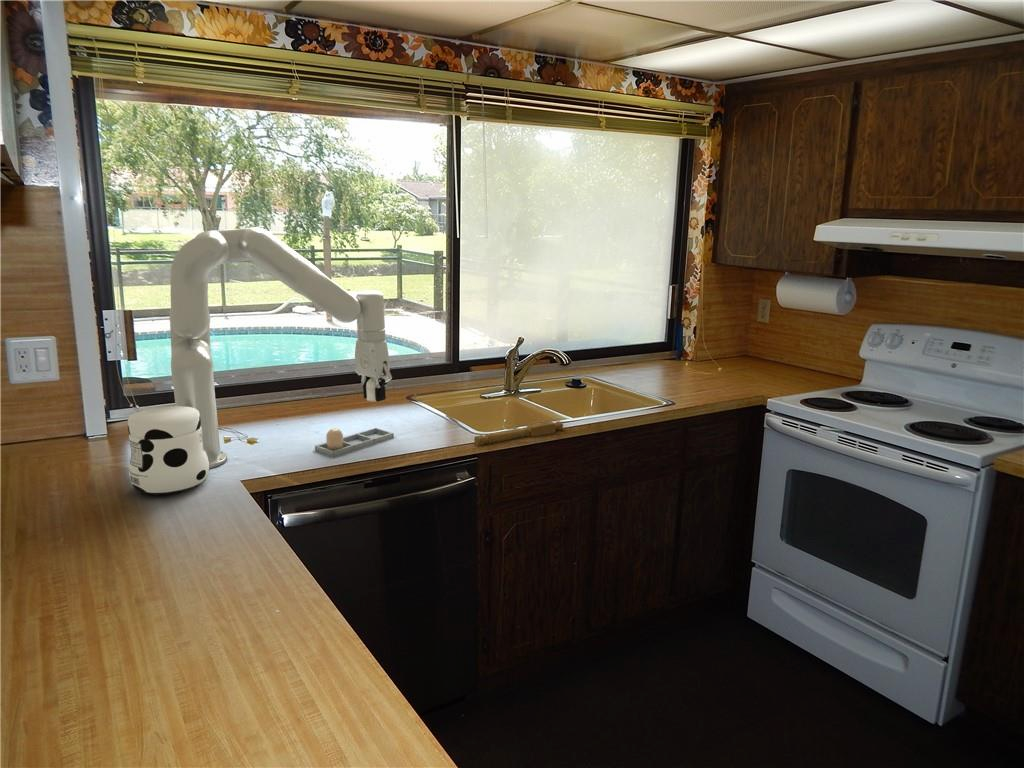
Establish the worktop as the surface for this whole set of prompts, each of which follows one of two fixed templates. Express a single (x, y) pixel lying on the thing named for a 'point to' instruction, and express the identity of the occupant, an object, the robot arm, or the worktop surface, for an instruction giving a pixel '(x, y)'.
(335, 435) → the brown egg
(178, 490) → the milk container
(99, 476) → the worktop surface
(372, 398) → the white egg
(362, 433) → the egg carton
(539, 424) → the brown long rod
